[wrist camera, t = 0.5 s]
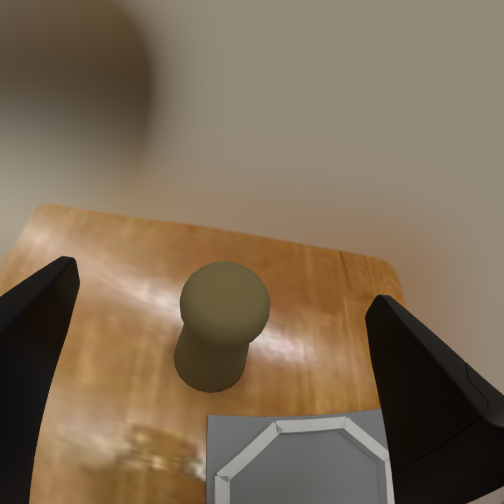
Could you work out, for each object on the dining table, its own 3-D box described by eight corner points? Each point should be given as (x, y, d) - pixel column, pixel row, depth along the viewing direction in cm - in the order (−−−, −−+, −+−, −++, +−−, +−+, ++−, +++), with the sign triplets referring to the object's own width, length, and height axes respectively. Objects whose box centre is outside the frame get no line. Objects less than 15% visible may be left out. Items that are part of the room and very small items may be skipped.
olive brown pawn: (252, 339, 26) (292, 265, 18) (234, 402, 22) (271, 357, 14) (188, 317, 26) (197, 232, 18) (163, 377, 22) (153, 315, 14)
